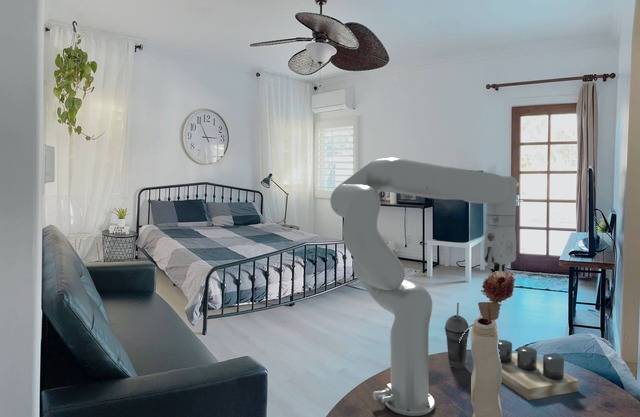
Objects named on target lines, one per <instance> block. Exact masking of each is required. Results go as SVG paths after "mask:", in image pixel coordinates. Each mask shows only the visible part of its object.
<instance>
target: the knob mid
mask: <svg viewBox="0 0 640 417" xmlns="http://www.w3.org/2000/svg"><path fill="white" fill-rule="evenodd" d="M516 353H517V367H518V368H520V369H522V370H526V371H535V370H536V369H537V358H538V357H537V356H538V351H537V349H535V348H534V347H529V346H519V347H517V352H516Z"/></svg>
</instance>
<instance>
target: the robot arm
mask: <svg viewBox="0 0 640 417" xmlns="http://www.w3.org/2000/svg"><path fill="white" fill-rule="evenodd" d="M517 184H518V181H517V179H516V178H515V177H514V176H509V175H507V176H506V175H499V174H497V173H492V172H486V171H479V170H472V169H465V168H457V167H451V166H446V165H439V164H432V163H428V162H427V163H426V162H421V161H418V160H417V161H416V160H413V159H412V160H410V159H404V158H399V157H386V158H385V157H384V158H378V159H377V158H376V159H374V160H371V161H370V162H369V163H367V164H366V165H365V166H363V167H362V168H359V170H357V172H355V173H353V175H350V177H348V178H347V179H345V180H344V181H343V182H341V183H340V184H339V185H338V186H337V187H335V188H334V190H333V191H332V194H331V196H330V201H329V202H330V207H331V209H332V211H333V212H334V213H335V214H336V215H337V216H340V217H341V218H343V223H342V224H343V226H342V238H343V239H342V240H343V243H344V245H345V248H347V250H348V252H349V253H350V255H351V256H352V263H351V264H352V271H353V273H354V275H355V277H356V279H357V280H358V282H359V283H360V284H361V285H362V287H363V288H364V289H365V291H367V292H368V294H369V295H370V296H371V298H372V299H373V300H374V301H375V302H376V303H377V304H378V305H379V306H380V307H381V308H383V309H384V310H386V311H387V312H388V313H391V314H392V315H394V319H393V320H394V321H393V323H392V326H391V330H390V339H389V340H390V342H389V343H390V344H389V346H390V383H387V385H386V388H384V389H382V390H376V391H373V392H372V397H373V400H374V401H375V400H376V401H377V400H379V399H380V400H381V402H382V403H385V406H386V407H387V408H388V409H389V410H391V411H392V412H393V413H396V414H400V415H403V416H408V417H420V416H424V415H428V414H429V413H431V412H433V411H434V409H435V406H436V404H435V403H436V402H435V399H434V397H433V395H431V394H430V393H429V331H430V329H429V328H430V322H431V318H432V312H433V301H432V300H433V299H432V296H431V295H430V293H429V292H428V290H427V289H426V288H425V287H423V286H422V285H420V284H418V283H416V282H413V281H411V280H408V279H406V278H405V277H406V276H405V275H406V272H405V268H404V266H403V263H402V261H401V260H400V259H399V258H398V256H397V255H396V254H395V253H394V251H393V250H392V249H391V248H390V246H389V245H388V244H387V243H386V241H385V240H384V238H383V237H382V235H381V233H380V231H379V229H378V219H379V214H380V211H381V204H382V202H381V197H380V193H382V192H383V193H384V192H385V193H386V192H387V193H395V194H401V195H402V194H403V195H407V196H408V195H409V196H415V197H420V198H421V197H422V198H427V199H435V200H436V199H437V200H462V201H464V202H467V203H471V204H485V222H484V223H485V227H486V228H485V232H484V233H485V234H484V242H483V261H484V262H485V263H486V268H487V269H489V270H490V274H491V273H493V272H495V271H506V272H507V267H508V266H509V265H510V263H514V262H516V260H517V234H516V229H515V228H516V212H517V211H516V209H517V187H518V185H517Z"/></svg>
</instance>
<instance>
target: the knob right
mask: <svg viewBox="0 0 640 417" xmlns="http://www.w3.org/2000/svg"><path fill="white" fill-rule="evenodd" d="M542 357H543V358H542V361H543V375H544V376H545V377H547V378H549V379H553V380H562V379H563V378H564V373H565V358H564V357H562V356H560V355H558V354H553V353H546V354H544V355H543V356H542Z"/></svg>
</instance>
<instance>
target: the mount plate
mask: <svg viewBox="0 0 640 417" xmlns="http://www.w3.org/2000/svg"><path fill="white" fill-rule="evenodd" d="M501 364H502V382H501V383H502V384H504V385H506V386H507V387H508V388H510V389H511V390H513V391H514V392H516V393H517V394H519V395H520V396H521V397H523V398H525V400H527V401H531V400H532V401H533V400H537V399H543V398H549V397H553V396H555V397H556V396H558V395H559V396H560V395H564V394H570V393H576V392H579V379H577V378H575V377H573V376H572V375H569V373H568V374H567V373H566V372H564V378H563V379H562V380H553V379H549V378H547V377H545V376H544V375H543V359H542V360H541V359H540V358H538V357H537V369H536V370H535V371H526V370H522V369H520V368H518V367H517V352H512V361H511V362H509V363H502V362H501Z"/></svg>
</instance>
